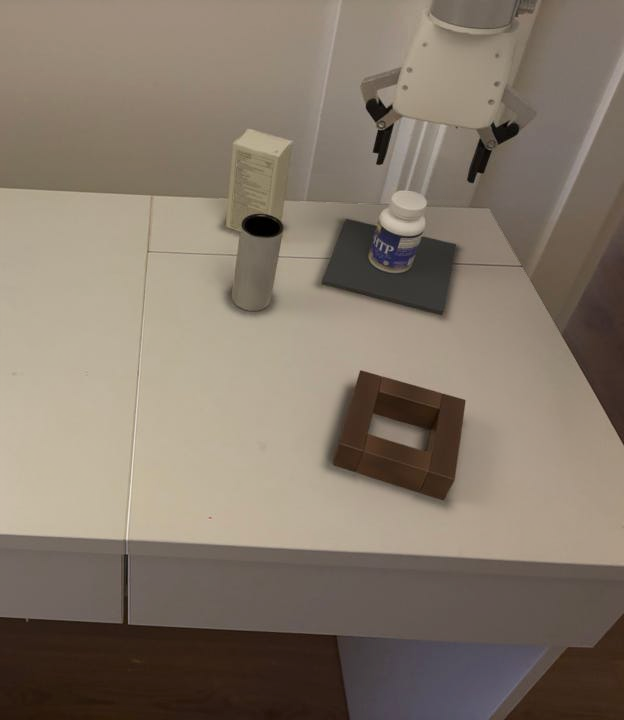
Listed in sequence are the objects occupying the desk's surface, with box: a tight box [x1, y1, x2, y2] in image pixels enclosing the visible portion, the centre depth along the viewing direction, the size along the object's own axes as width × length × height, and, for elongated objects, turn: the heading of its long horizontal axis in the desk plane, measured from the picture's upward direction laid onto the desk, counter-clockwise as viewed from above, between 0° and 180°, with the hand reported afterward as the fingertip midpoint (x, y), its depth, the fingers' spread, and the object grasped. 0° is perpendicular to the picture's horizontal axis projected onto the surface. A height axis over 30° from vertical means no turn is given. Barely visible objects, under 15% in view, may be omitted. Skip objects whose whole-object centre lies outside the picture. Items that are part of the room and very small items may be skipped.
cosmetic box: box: [225, 128, 294, 233], centre depth 93 cm, size 6×4×12 cm
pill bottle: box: [369, 189, 428, 273], centre depth 88 cm, size 5×5×9 cm
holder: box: [332, 370, 467, 501], centre depth 71 cm, size 10×10×3 cm
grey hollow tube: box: [231, 214, 285, 312], centre depth 83 cm, size 4×4×10 cm
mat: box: [321, 218, 457, 316], centre depth 92 cm, size 14×14×1 cm
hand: (425, 168), depth 82 cm, fingers open, 9 cm apart
